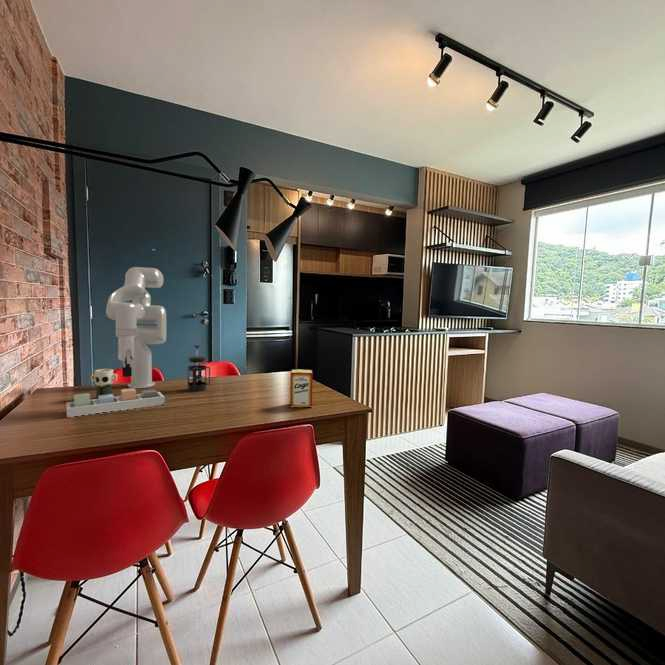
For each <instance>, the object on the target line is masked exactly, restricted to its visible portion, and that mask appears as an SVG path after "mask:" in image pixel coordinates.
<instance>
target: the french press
mask: <svg viewBox="0 0 665 665" xmlns="http://www.w3.org/2000/svg"><path fill="white" fill-rule="evenodd" d="M194 347H195V349H196V355H191V356H188V357H187V359H188V362H189V363H196V364H195V365H189V366H187V390H188V391H187V390H186V391H187V392H189V391H191V392H190V393H199V391H201V392H205V391H207V390H208V388H207V385H211V367H210V366H207V365H202V364H201V363H205V362H206V361H207V360H206V359H207V356H204V355H199V354H198V351H199V350H198V349H199V347H202V345H200V344H194V345H193V348H194ZM198 363H200V364H198ZM207 369H208V382H207ZM190 371H192V376H190ZM202 371H204V375H202ZM203 380H204V381H203ZM190 381H191V382H190ZM206 389H207V390H206ZM204 390H205V391H204Z"/></svg>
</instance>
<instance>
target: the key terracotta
mask: <svg viewBox="0 0 665 665" xmlns="http://www.w3.org/2000/svg"><path fill="white" fill-rule="evenodd" d="M136 394H137V389H136V388H123V389H121V388H120V396H121V400H122V401H128V400H136Z"/></svg>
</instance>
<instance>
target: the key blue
mask: <svg viewBox="0 0 665 665" xmlns="http://www.w3.org/2000/svg"><path fill="white" fill-rule="evenodd" d="M114 397H115V396H114V394H113V393H112V394H109V395H100V396H98V404H104V403H112V402H114Z"/></svg>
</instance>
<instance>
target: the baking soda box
mask: <svg viewBox="0 0 665 665" xmlns="http://www.w3.org/2000/svg"><path fill="white" fill-rule="evenodd" d="M313 374H314V373H313V370H312V369H301V368H300V369H290V386H289V388H290V391H289V392H290V394H289V398H290V400H289V407H290V406H312V407H313V379H314V378H313V376H314V375H313Z"/></svg>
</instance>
